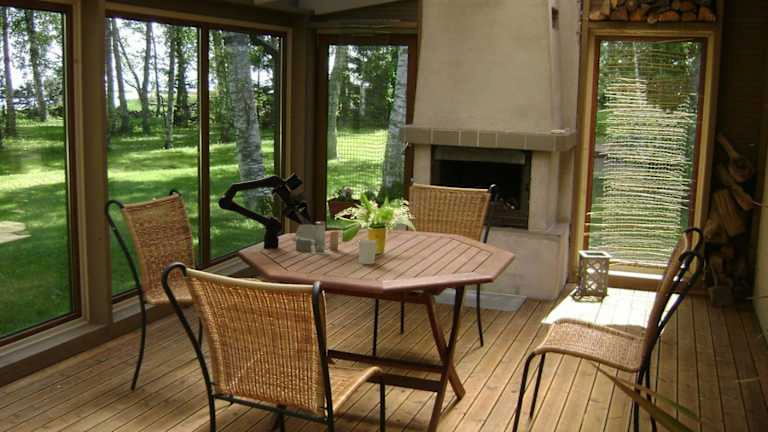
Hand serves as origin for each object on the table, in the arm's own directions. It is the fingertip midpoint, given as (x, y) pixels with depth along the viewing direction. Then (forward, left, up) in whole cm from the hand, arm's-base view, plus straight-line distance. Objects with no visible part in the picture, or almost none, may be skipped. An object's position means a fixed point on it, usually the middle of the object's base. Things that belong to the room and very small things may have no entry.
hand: (306, 222), depth 389 cm
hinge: (+2, +21, -14) cm, 25 cm away
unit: (-1, +2, -14) cm, 14 cm away
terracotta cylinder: (+14, +4, -14) cm, 20 cm away
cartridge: (+7, -3, -13) cm, 15 cm away
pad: (+7, -3, -14) cm, 15 cm away
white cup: (+27, -24, -14) cm, 38 cm away
